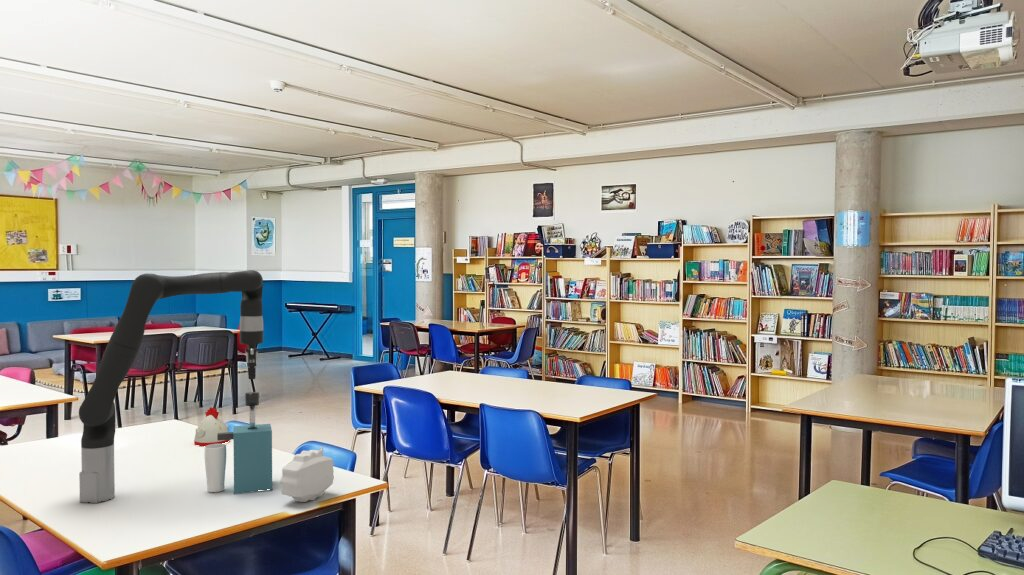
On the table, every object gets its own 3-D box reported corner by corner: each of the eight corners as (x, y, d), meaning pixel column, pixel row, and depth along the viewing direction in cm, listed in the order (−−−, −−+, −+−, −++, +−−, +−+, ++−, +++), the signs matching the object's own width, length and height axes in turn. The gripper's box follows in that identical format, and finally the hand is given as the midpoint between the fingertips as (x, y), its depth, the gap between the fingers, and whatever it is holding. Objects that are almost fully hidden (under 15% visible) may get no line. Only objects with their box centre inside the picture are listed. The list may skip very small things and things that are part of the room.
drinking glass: (212, 495, 244) (211, 449, 244) (200, 491, 249) (200, 446, 248) (230, 490, 250) (230, 445, 249) (219, 486, 254) (219, 442, 254)
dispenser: (270, 480, 261) (270, 423, 260) (272, 490, 250) (271, 430, 249) (218, 485, 255) (217, 427, 255) (217, 495, 244) (217, 434, 243)
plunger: (259, 435, 256) (258, 391, 255) (259, 438, 251) (259, 393, 251) (245, 436, 254) (245, 392, 254) (245, 439, 250) (245, 394, 250)
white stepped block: (338, 494, 245) (338, 446, 245) (299, 510, 229) (299, 458, 229) (313, 489, 250) (313, 442, 250) (273, 504, 234) (272, 454, 234)
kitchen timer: (207, 448, 308) (207, 412, 308) (187, 443, 316) (187, 408, 315) (236, 441, 320) (236, 406, 319) (216, 437, 327) (216, 403, 327)
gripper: (264, 330, 246) (264, 379, 247) (262, 327, 260) (262, 374, 260) (239, 331, 244) (240, 381, 244) (239, 328, 257) (239, 375, 258)
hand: (251, 377), depth 252 cm, fingers open, 8 cm apart
